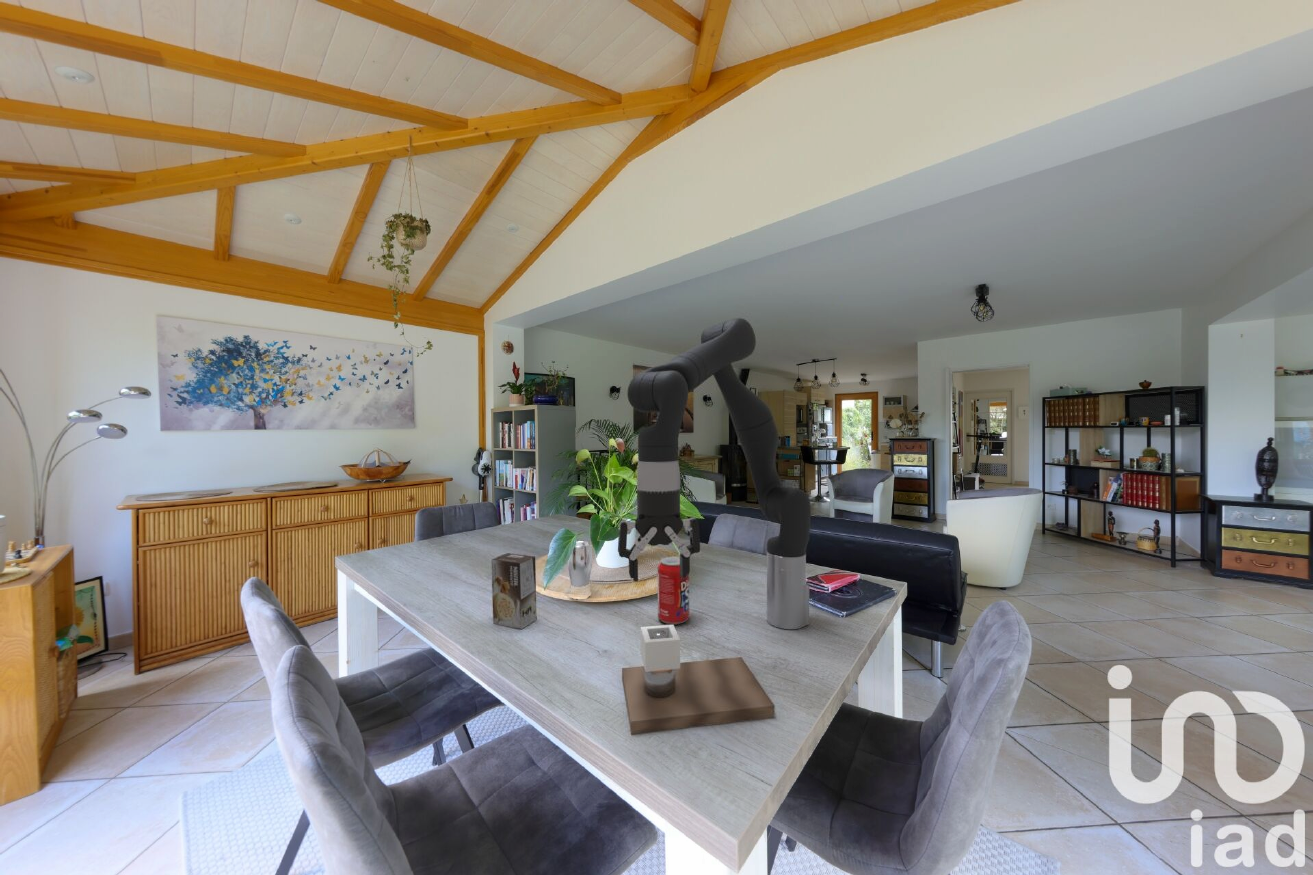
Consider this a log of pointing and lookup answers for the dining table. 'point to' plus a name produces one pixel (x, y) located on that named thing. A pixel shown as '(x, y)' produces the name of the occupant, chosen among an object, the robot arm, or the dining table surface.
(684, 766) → the dining table surface
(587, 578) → the beer glass
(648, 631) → the collar
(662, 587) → the soda can
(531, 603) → the coffee box
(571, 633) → the dining table surface
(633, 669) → the pipe stand
